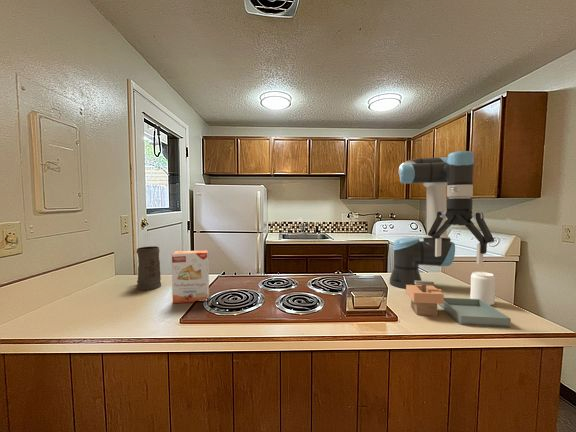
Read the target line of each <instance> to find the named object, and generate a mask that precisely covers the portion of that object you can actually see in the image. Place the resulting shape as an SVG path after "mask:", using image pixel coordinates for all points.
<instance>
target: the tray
mask: <svg viewBox="0 0 576 432" xmlns="http://www.w3.org/2000/svg"><path fill="white" fill-rule="evenodd" d="M438 306H440V307H441V309H443V310H444V311H445V312H446V313H447V314H448V315H449V316H450V317H452V319H454V320H455V321H456V322H457V323H458V324H459V325H462V326H463V325H465V326H479V327H496V328H497V327H498V328H511V322H512V321H511V319H512V318H511V317H510V316H508V315H507V314H504V313H503V312H501V311H499V310H498V309H497V308H495V307H493V306H492V305H489V304H487V303H485V302H484V301H482V300H481V299H470V298H463V297H461V298H460V297H444V304H438Z"/></svg>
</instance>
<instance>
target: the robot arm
mask: <svg viewBox="0 0 576 432" xmlns="http://www.w3.org/2000/svg"><path fill="white" fill-rule="evenodd" d="M474 164H475V158H474V152H473V151H469V150H462V151H461V150H460V151H454V152H453V151H452V152H450V153H449V154H448V155H447V156H445V157H440V156H438V157H422V158H413V159H409V160H406V161H404V162H402V163H401V164H399V166H398V169H397V170H398V172H397V173H398V176H399V182H400V183H401V184H407V185H408V184H422V186H424V187H425V188H426V190H425V191H426V193H425V194H426V234H425V235H424V237H423V241H421V240H420V239H419V238H418V237H406V238H405V237H404V238H403V237H402V238H399V239H398V238H397V239H396V240H395V241H394V242H393V249H392V250H393V262H392V263H393V268H392V270H391V274H390V277H389V284H390V285H391V286H393V287H396V288H400V289H406V285H415V284H414V280H416V281H423V280H422V277H421V273H420V271H419V267H420V265H421V266H433V267H450V266H451V265H452V264H453V263H454V259H455V257H456V256H455V255H456V244H455V242H453V241H451V239H452V238H450V236H448V233H447V230H448V229H449V228H450V227H451V226H452V225H453V226H457V225H458V226H465V228H467V229H468V230H469V232H470V233H471V234H472V235H473V236H474V238H475V239H476V240H477V242H478V243H476V261H475V262H476V264H477V265H481V264H483V263H484V255H485V254H487V252H488V251H487V250H488V249H487V248H488V243H489V244H490V243H493V242H494V241H495V238H494V237H493V235H492V233H491V231H490V229H489V227H488V225H487V223H486V221H485V219H484V218H485V217H484V213H483V212H475V213H473V198H471V197H473V196H474V195H473V194H474V187H473V186H474V167H475V165H474ZM473 218H474V220H475V221H476V224H477V225H478V227H479V229H480V230H479V229H478V228H477V227H476V225H475V223H474V222H473V221H472V219H473Z"/></svg>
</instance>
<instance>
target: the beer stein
mask: <svg viewBox="0 0 576 432" xmlns="http://www.w3.org/2000/svg"><path fill="white" fill-rule="evenodd" d="M136 254H137V258H138V259H137V260H138V261H137V263H138V266H137V280H136V289H137V290H139V289H140V290H139V291H149V290H150V289H151V290H155V289H158V288H160V287H161V286H162V283H161V279H162V278H161V265H160V264H161V262H160V247H159V246H156V245H155V246H142V247H138V248H137V249H136Z"/></svg>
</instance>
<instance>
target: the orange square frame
mask: <svg viewBox="0 0 576 432" xmlns="http://www.w3.org/2000/svg"><path fill="white" fill-rule="evenodd" d="M405 294H406V295H407V297H409V299H410V301H411V300H412V301H413V302H415V303H436V304H437V305H439V304H444V298H445V294H444V293H443V290H442V289H441V288H437V287H435V286H434V285H426V292H422V285H406V288H405Z"/></svg>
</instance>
